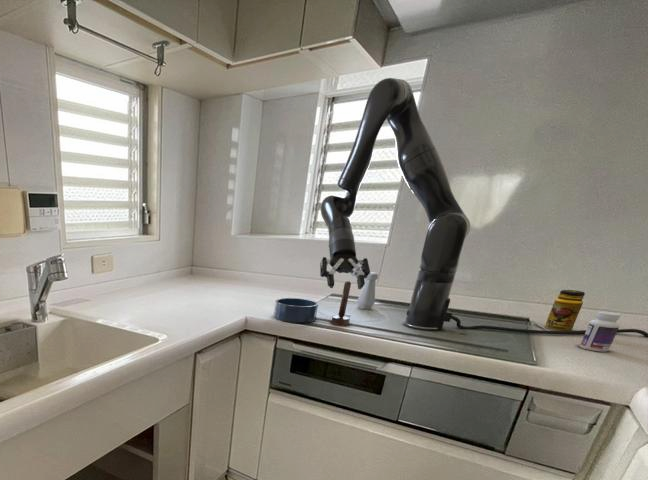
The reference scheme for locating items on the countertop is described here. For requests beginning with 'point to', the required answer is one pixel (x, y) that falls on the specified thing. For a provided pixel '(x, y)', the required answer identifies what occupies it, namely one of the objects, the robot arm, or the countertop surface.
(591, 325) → the pill bottle
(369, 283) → the salt shaker
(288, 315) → the bowl
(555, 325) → the condiment
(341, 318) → the brown stamp
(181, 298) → the countertop surface
